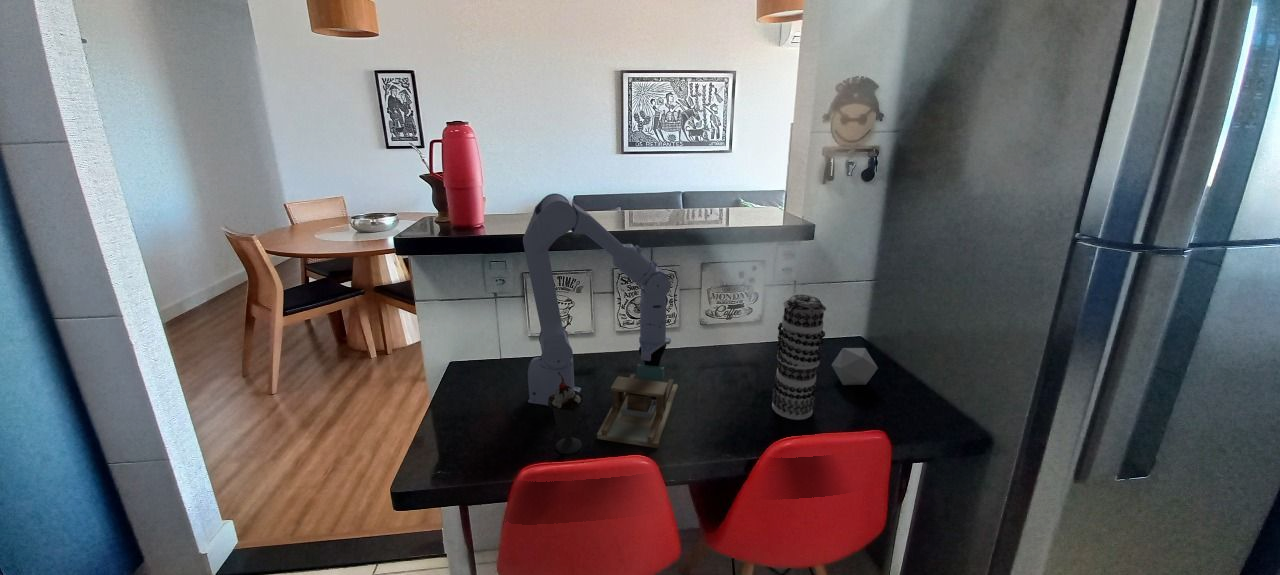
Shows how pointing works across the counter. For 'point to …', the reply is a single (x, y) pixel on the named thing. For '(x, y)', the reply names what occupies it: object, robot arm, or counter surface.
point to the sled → (646, 374)
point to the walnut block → (639, 402)
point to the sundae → (566, 416)
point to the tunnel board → (637, 427)
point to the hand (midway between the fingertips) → (652, 374)
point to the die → (854, 366)
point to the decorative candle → (798, 356)
